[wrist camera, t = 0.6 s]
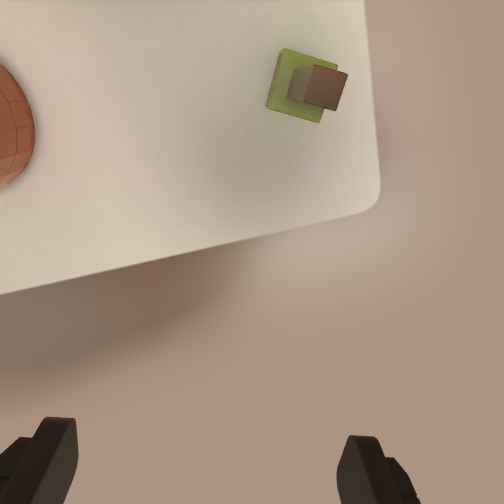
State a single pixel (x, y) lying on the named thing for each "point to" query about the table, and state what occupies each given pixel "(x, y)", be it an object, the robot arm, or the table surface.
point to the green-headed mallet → (305, 86)
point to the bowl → (13, 129)
